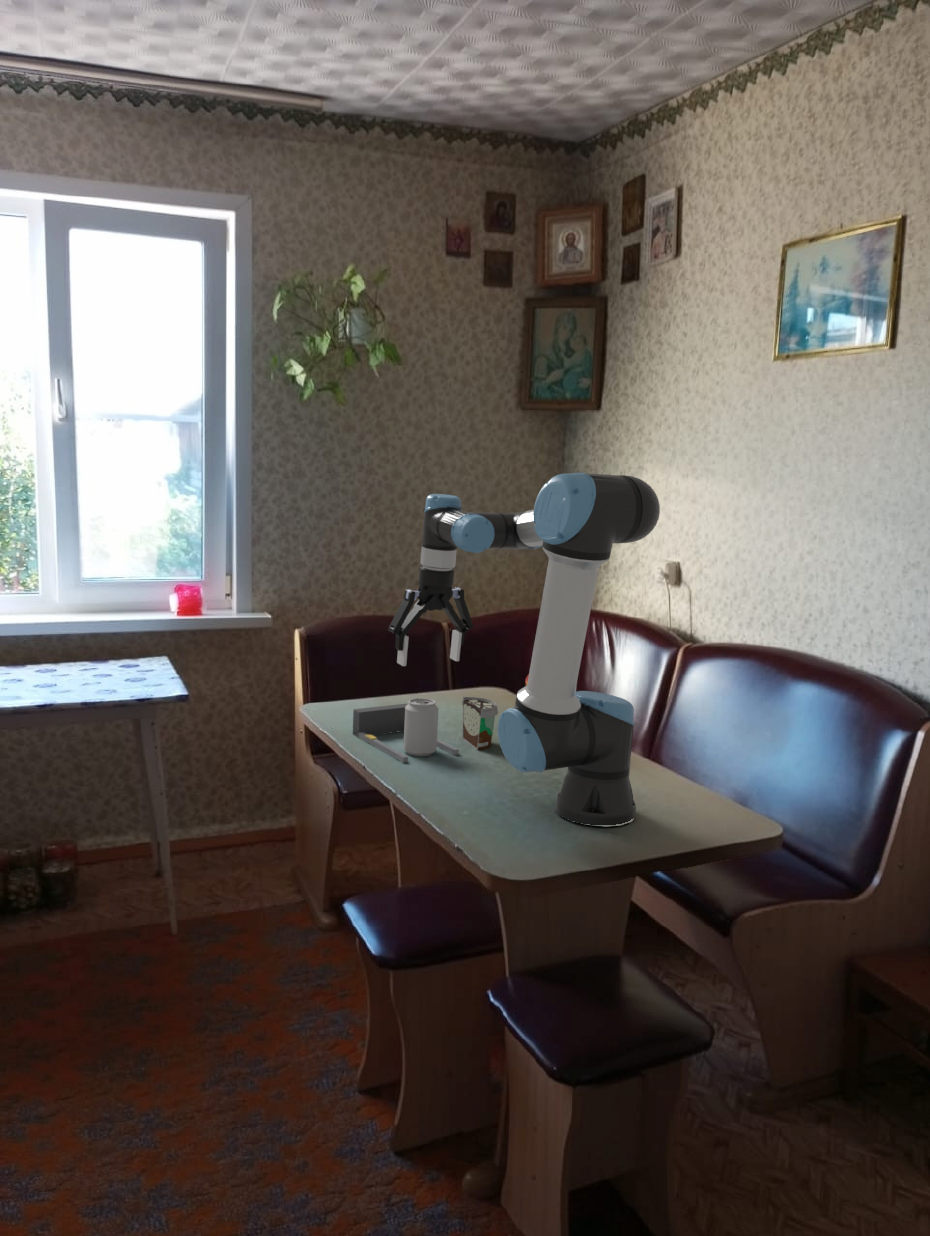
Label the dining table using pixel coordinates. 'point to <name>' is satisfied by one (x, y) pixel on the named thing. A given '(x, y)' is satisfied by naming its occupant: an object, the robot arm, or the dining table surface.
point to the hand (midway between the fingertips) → (428, 662)
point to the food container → (478, 721)
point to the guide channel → (386, 727)
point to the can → (421, 727)
